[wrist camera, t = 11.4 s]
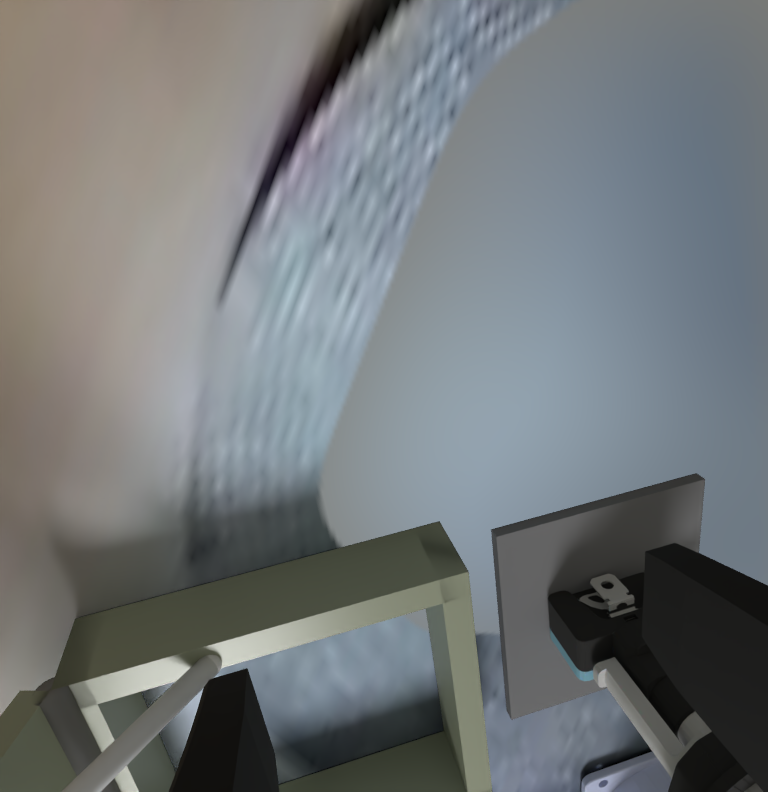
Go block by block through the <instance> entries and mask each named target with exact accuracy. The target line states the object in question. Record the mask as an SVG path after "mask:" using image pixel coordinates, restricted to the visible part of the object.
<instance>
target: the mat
mask: <svg viewBox="0 0 768 792" xmlns="http://www.w3.org/2000/svg"><path fill="white" fill-rule="evenodd" d="M704 486H705V479H704V478H702V477H701V476H699V475H698V474H692V475H688V476H685V477H681V478H677V479H674V480H670V481H667V482H663V483H660V484H655V485H652V486H648V487H644V488H641V489H637V490H634V491H630V492H626V493H623V494H619V495H616V496H612V497H608V498H604V499H601V500H597V501H594V502H590V503H586V504H583V505H579V506H575V507H572V508H568V509H564V510H561V511H557V512H553V513H550V514H546V515H542V516H539V517H535V518H531V519H528V520H524V521H520V522H517V523H514V524H510V525H506V526H503V527H499V528H495V529H492V530H491V532H492V544H493V555H494V567H495V579H496V590H497V602H498V614H499V625H500V637H501V649H502V661H503V672H504V684H505V696H506V707H507V712H508V714H509V716H510V718H511V720H512V719H515V718H518V717H521V716H524V715H527V714H530V713H533V712H536V711H539V710H542V709H545V708H548V707H552V706H555V705H558V704H561V703H564V702H567V701H570V700H573V699H576V698H579V697H582V696H585V695H588V694H591V693H594V692H597V691H600V690H603V689H606V688H607V687H603V688H601V687H599V686H598V684H597V683H596V681H595V680H594V679H593V680H590V681H582V680H580V679H579V678H577V677H576V675H575V674H574V672H573V671H572V669H571V668H570V666H569V665H568V663H567V662H566V660H565V659H564V657H563V656H562V654H561V653H560V651H559V650H558V648H557V647H556V645H555V644H554V643H553V641H552V640H551V637H550V624H549V608H548V596H549V595H550V594H552V593H555V592H559V591H568V592H570V593H571V594H574V593H577V592H581V591H584V590H587V589H590V588H593V587H592V586H591V585H590V581H591V579H593V578H596V577H599V576H602V575H605V574H612V575H615V576H616V578H617V579H618V580H619V579H622V578H625V577H628V576H631V575H634V574H638V573H641V572H644V569H645V551H649V550H652V549H655V548H659V547H662V546H666V545H669V544H672V543H677V544H679V545H682V546H684V547H686V548H689V549H691V550H693V551H695V552H698V553H699V544H700V532H701V520H702V509H703V497H704ZM606 583H609V582H603V583H602V584H601V585H603V584H606Z"/></svg>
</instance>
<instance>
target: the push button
mask: <svg viewBox="0 0 768 792" xmlns="http://www.w3.org/2000/svg"><path fill="white" fill-rule="evenodd" d="M603 582H609V583H606V584H603V585H601V584H602V583H603ZM590 585H591V586H592V587H593V588H590V589H587V590H584V591H581V592H577V593H574V594H571V593H570V592H568V591H559V592H555V593H552V594H550V595H549V596H548V608H549V624H550V637H551V640H552V641H553V643H554V644H555V645H556V647H557V648H558V650H559V651H560V653H561V654H562V656H563V657H564V659H565V660H566V662H567V663H568V665H569V666H570V668H571V669H572V671H573V672H574V674H575V675H576V677H577V678H579V679H580V680H582V681H590V680H593V679H594V680H595V681H596V683H597V684H598V686H599V687H601V688H603V687H607V688H608V690H609V691H610V692H611V694H612V695H613V697H614V698H615V700H616V701H617V702H618V704H619V705H620V707H621V708H622V709H623V711H624V712H625V714H626V715H627V716H628V718H629V719H630V721H631V722H632V723H633V725H634V726H635V728H636V729H637V730H638V732H639V733H640V735H641V736H642V737H643V739H644V740H645V742H646V743H647V744H648V746H649V747H650V749H651V750H652V751H653V753H654V754H655V756H656V757H657V758H658V760H659V761H660V763H661V764H662V765H663V767H664V768H665V770H666V771H667V773H668V774H669V775H670V777H671V779H672V780H671V783H670V786H669V790H668V792H763V791H762V790H761V788H760V787H759V786H758V785H757V784H756V783H755V781H754V780H753V779H752V778H751V777H750V775H749V774H748V773H747V772H746V771H745V770H744V768H743V767H742V766H741V765H740V764H739V763H738V761H737V760H736V759H735V758H734V757H733V756H732V754H731V753H730V752H729V751H728V750H727V748H726V747H725V746H724V745H723V744H722V743H721V741H720V740H719V739H718V738H717V737H716V736H715V734H714V733H713V732H712V731H711V730H710V728H709V727H708V726H707V725H706V724H705V722H704V721H703V720H702V719H701V718H700V717H699V715H698V714H697V713H696V712H695V711H694V709H693V708H692V707H691V706H690V705H689V703H688V702H687V701H686V700H685V699H684V697H683V696H682V695H681V694H680V692H679V691H678V690H677V689H676V687H675V686H674V684H673V683H672V681H671V680H670V678H669V677H668V676H667V674H666V673H665V671H664V670H663V668H662V667H661V665H660V664H659V662H658V661H657V659H656V658H655V656H654V655H653V653H652V652H651V650H650V648H649V647H648V645H647V644H646V642H645V641H644V639H643V638H642V618H643V593H644V572H641V573H638V574H634V575H631V576H628V577H625V578H622V579H619V580H618V579H617V578H616V576H615V575H612V574H605V575H602V576H599V577H596V578H593V579H591V581H590Z"/></svg>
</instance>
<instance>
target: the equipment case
mask: <svg viewBox="0 0 768 792" xmlns="http://www.w3.org/2000/svg"><path fill="white" fill-rule="evenodd" d="M422 609H426V613H427V620H428V626H429V633H430V640H431V647H432V653H433V660H434V667H435V673H436V680H437V687H438V694H439V700H440V707H441V714H442V720H443V727H444V731H442V732H439V733H436V734H433V735H430V736H427V737H424V738H421V739H418V740H415V741H412V742H409V743H406V744H403V745H400V746H396V747H393V748H390V749H387V750H384V751H381V752H378V753H375V754H372V755H369V756H366V757H363V758H360V759H357V760H354V761H351V762H348V763H345V764H342V765H339V766H336V767H332V768H329V769H326V770H323V771H320V772H317V773H314V774H311V775H308V776H305V777H302V778H299V779H296V780H293V781H290V782H287V783H284V784H281V785H279V792H492V785H491V776H490V767H489V757H488V748H487V739H486V730H485V720H484V711H483V702H482V693H481V683H480V674H479V665H478V656H477V646H476V637H475V629H474V619H473V609H472V600H471V591H470V582H469V572H468V570H467V568H466V567H465V565H464V563H463V561H462V560H461V558H460V556H459V555H458V553H457V551H456V549H455V548H454V546H453V544H452V542H451V541H450V539H449V537H448V535H447V534H446V532H445V530H444V529H443V527H442V525H441V523H440V522H435V523H431V524H427V525H424V526H420V527H416V528H413V529H409V530H405V531H401V532H398V533H394V534H391V535H387V536H383V537H379V538H375V539H371V540H368V541H364V542H360V543H357V544H353V545H349V546H345V547H342V548H338V549H334V550H330V551H327V552H323V553H319V554H315V555H312V556H308V557H304V558H300V559H297V560H293V561H289V562H286V563H282V564H278V565H274V566H271V567H267V568H263V569H259V570H256V571H252V572H248V573H244V574H241V575H237V576H233V577H230V578H226V579H222V580H218V581H215V582H211V583H207V584H203V585H200V586H196V587H192V588H188V589H185V590H181V591H177V592H174V593H170V594H166V595H162V596H159V597H155V598H151V599H147V600H144V601H140V602H136V603H132V604H129V605H125V606H121V607H118V608H114V609H110V610H106V611H103V612H99V613H95V614H91V615H88V616H84V617H80V618H76V619H75V621H74V624H73V627H72V630H71V633H70V636H69V638H68V641H67V644H66V647H65V650H64V653H63V656H62V659H61V661H60V664H59V667H58V670H57V673H56V676H55V677H54V678H51V679H49V680H47V681H45V682H44V683H43V684H41V685H40V686H39V687H38V688H37V689H36V690H35V691H20V692H19V693H18V694H17V696H16V697H15V698H14V699H13V701H12V702H11V703H10V705H9V706H8V707H7V708H6V710H5V711H4V712H3V714H2V715H1V716H0V792H169V789H170V787H171V784H172V781H173V779H174V776H175V774H176V772H175V770H174V768H173V765H172V763H171V761H170V758H169V756H168V754H167V751H166V749H165V747H164V744H163V742H162V740H161V737H160V735H159V732H160V731H161V730H162V729H163V728H164V727H165V726H166V725H167V724H168V723H169V722H170V721H171V720H172V719H173V718H174V717H175V716H176V715H177V714H178V713H179V712H180V711H181V710H182V709H183V708H184V707H185V706H186V705H187V704H188V703H189V702H190V701H191V700H192V699H193V698H194V697H195V696H196V695H197V694H198V693H199V692H200V691H201V690H202V689H203V688H204V686H205V685H206V684H207V682H208V681H209V679H213V678H214V677H215V676H216V675H217V674H218V672H219V671H220V669H221V668H223V667H227V666H230V665H234V664H237V663H241V662H244V661H247V660H251V659H254V658H258V657H261V656H265V655H268V654H271V653H275V652H278V651H282V650H285V649H289V648H292V647H295V646H299V645H302V644H306V643H309V642H313V641H316V640H319V639H323V638H326V637H330V636H333V635H337V634H340V633H343V632H347V631H350V630H354V629H357V628H361V627H364V626H368V625H371V624H374V623H378V622H381V621H385V620H388V619H392V618H395V617H398V616H402V615H405V614H409V613H412V612H415V611H418V610H422ZM175 681H176V682H175ZM172 682H175V683H174V684H173V685H172V686H171V687H170V688H169V689H168V690H167V691H166V692H165V693H164V694H163V695H162V696H160V697H159V698H158V699H157V700H156V701H155V702H154V703H153V704H152V705H151V706H150V707H149V708H148V707H147V705H146V703H145V700H144V698H143V696H142V693H141V691H145V690H148V689H151V688H155V687H158V686H162V685H165V684H169V683H172Z"/></svg>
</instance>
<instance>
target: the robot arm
mask: <svg viewBox="0 0 768 792" xmlns="http://www.w3.org/2000/svg"><path fill="white" fill-rule="evenodd" d="M642 638H643V639H644V641H645V642H646V644H647V645H648V647H649V648H650V650H651V652H652V653H653V655H654V656H655V658H656V659H657V661H658V662H659V664H660V665H661V667H662V668H663V670H664V671H665V673H666V674H667V676H668V677H669V678H670V680H671V681H672V683H673V684H674V686H675V687H676V689H677V690H678V691H679V692H680V694H681V695H682V696H683V697H684V699H685V700H686V701H687V702H688V703H689V705H690V706H691V707H692V708H693V709H694V711H695V712H696V713H697V714H698V715H699V717H700V718H701V719H702V720H703V721H704V722H705V724H706V725H707V726H708V727H709V728H710V730H711V731H712V732H713V733H714V734H715V736H716V737H717V738H718V739H719V740H720V741H721V743H722V744H723V745H724V746H725V747H726V748H727V750H728V751H729V752H730V753H731V754H732V756H733V757H734V758H735V759H736V760H737V761H738V763H739V764H740V765H741V766H742V767H743V768H744V770H745V771H746V772H747V773H748V774H749V775H750V777H751V778H752V779H753V780H754V781H755V783H756V784H757V785H758V786H759V787H760V788H761V790H762V791H763V792H768V586H767V585H765V584H763V583H761V582H759V581H757V580H755V579H753V578H751V577H748V576H746V575H744V574H742V573H740V572H738V571H736V570H734V569H731V568H730V567H727V566H725V565H723V564H721V563H719V562H717V561H715V560H713V559H710V558H708V557H706V556H704V555H702V554H700V553H698V552H695V551H693V550H691V549H689V548H686V547H684V546H682V545H679V544H677V543H672V544H669V545H666V546H662V547H659V548H655V549H652V550H649V551H645V569H644V593H643V618H642ZM671 780H672V779H671V777H670V775H669V774H668V773H667V771H666V770H665V768H664V767H663V765H662V764H661V763H660V761H659V760H658V758H657V757H656V756H655V754H654V753H653V751H652V752H649V753H646V754H643V755H641V756H638V757H635V758H632V759H629V760H627V761H624V762H621V763H618V764H615V765H612V766H610V767H607V768H604V769H601V770H598V771H596V772H593V773H590V774H588V775H586V776H585V777H584V778H583V780H582V783H581V790H582V792H668V790H669V786H670V783H671ZM169 792H279V785H278V777H277V768H276V760H275V753H274V749H273V746H272V743H271V740H270V737H269V734H268V731H267V728H266V725H265V722H264V718H263V715H262V712H261V709H260V706H259V703H258V700H257V697H256V694H255V690H254V687H253V684H252V681H251V678H250V675H249V672H248V669H243V670H240V671H237V672H233V673H230V674H226V675H223V676H220V677H216V678H213V679H209V681H208V682H207V684H206V685H205V686H204V689H203V693H202V696H201V700H200V703H199V706H198V709H197V713H196V716H195V719H194V722H193V725H192V728H191V731H190V734H189V737H188V740H187V743H186V746H185V749H184V752H183V754H182V757H181V760H180V763H179V766H178V768H177V771H176V774H175V776H174V779H173V781H172V784H171V787H170V789H169Z"/></svg>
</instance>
